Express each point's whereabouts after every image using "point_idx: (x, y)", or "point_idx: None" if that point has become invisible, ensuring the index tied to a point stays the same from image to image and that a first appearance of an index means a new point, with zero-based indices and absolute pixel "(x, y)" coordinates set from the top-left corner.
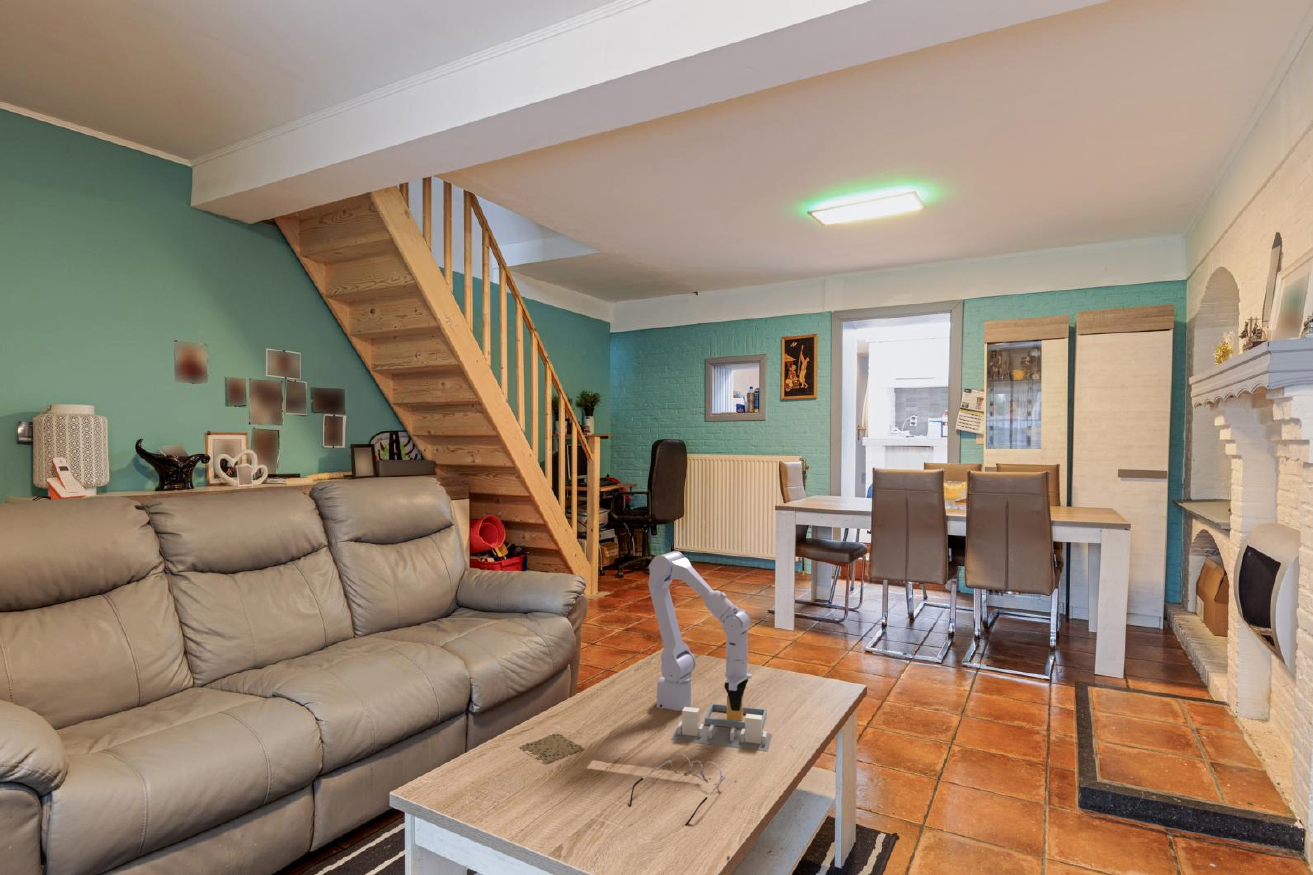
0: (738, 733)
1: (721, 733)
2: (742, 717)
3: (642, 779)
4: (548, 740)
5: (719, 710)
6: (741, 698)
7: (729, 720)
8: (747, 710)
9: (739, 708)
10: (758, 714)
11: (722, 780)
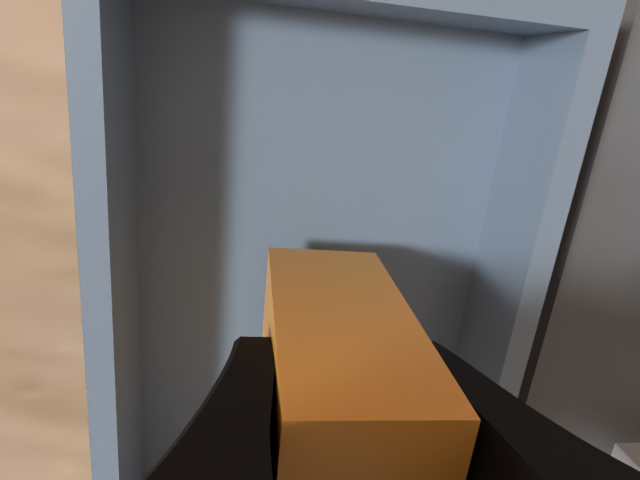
0: (635, 259)
1: (627, 390)
2: (323, 257)
3: None
4: None
5: (133, 474)
6: (578, 443)
7: (509, 382)
8: (118, 216)
9: (450, 354)
10: (121, 63)
11: None
